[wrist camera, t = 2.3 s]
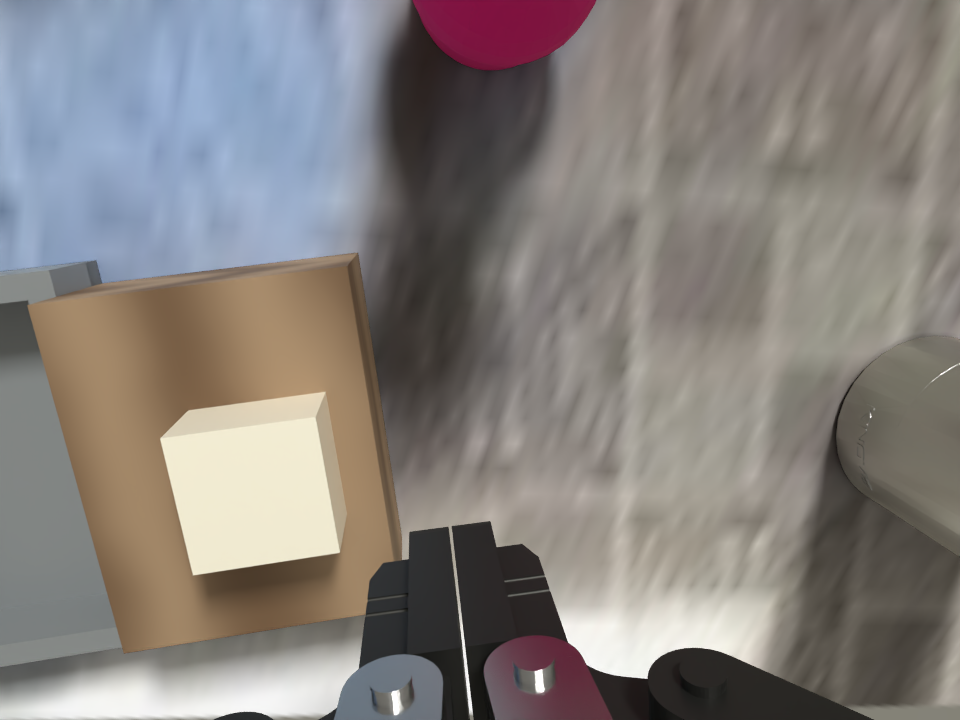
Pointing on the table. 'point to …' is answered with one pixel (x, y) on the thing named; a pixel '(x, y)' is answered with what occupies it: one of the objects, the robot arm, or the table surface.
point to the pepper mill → (501, 28)
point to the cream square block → (256, 482)
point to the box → (42, 494)
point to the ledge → (203, 384)
